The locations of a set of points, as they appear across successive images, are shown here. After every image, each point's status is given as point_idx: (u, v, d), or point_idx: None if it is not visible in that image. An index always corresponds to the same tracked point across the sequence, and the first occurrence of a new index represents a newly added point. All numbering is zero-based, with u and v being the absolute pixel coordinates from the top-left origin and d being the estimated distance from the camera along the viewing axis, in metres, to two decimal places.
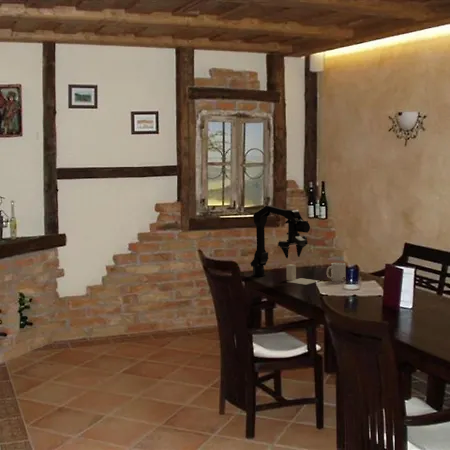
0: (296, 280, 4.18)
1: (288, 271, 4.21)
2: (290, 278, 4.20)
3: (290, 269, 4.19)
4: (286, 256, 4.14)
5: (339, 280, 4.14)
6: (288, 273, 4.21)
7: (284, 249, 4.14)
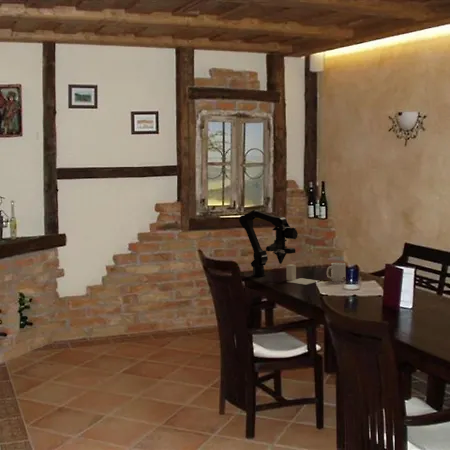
0: (296, 280, 4.18)
1: (288, 271, 4.21)
2: (290, 278, 4.20)
3: (290, 269, 4.19)
4: None
5: (339, 280, 4.14)
6: (288, 273, 4.21)
7: None
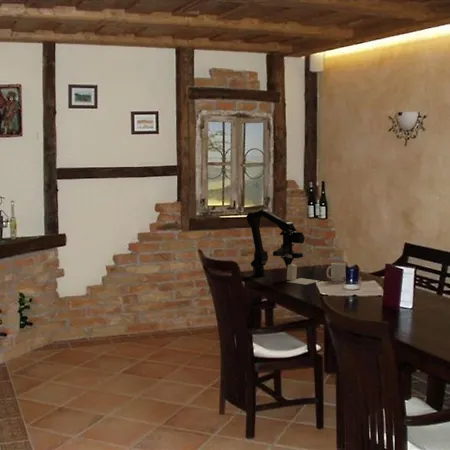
0: (296, 280, 4.18)
1: (289, 271, 4.20)
2: (290, 278, 4.20)
3: (291, 269, 4.19)
4: (287, 266, 4.23)
5: (339, 280, 4.14)
6: (289, 273, 4.20)
7: None
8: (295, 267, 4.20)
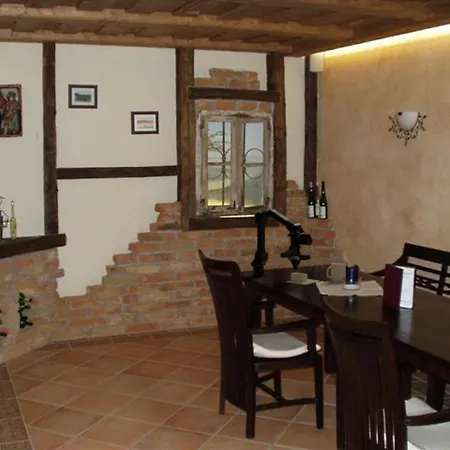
0: None
1: (298, 276, 4.16)
2: (292, 278, 4.19)
3: (300, 279, 4.15)
4: (294, 268, 4.20)
5: (339, 280, 4.14)
6: (296, 276, 4.17)
7: None
8: None
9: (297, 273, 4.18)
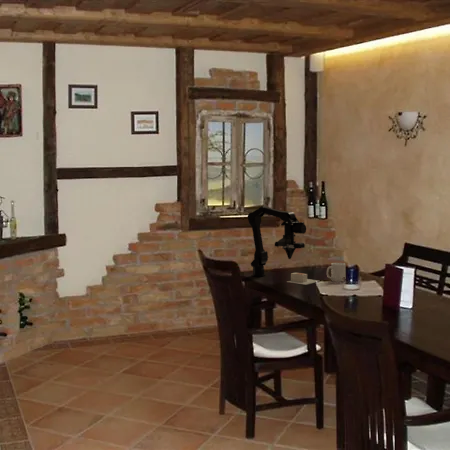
0: None
1: (298, 276, 4.16)
2: (292, 278, 4.19)
3: (300, 279, 4.15)
4: None
5: (339, 280, 4.14)
6: (296, 276, 4.17)
7: None
8: None
9: (297, 273, 4.18)
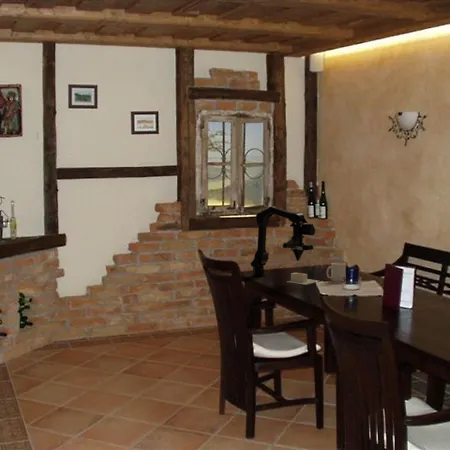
0: None
1: (298, 276, 4.16)
2: (292, 278, 4.19)
3: (300, 279, 4.15)
4: None
5: (339, 280, 4.14)
6: (296, 276, 4.17)
7: None
8: None
9: (297, 273, 4.18)
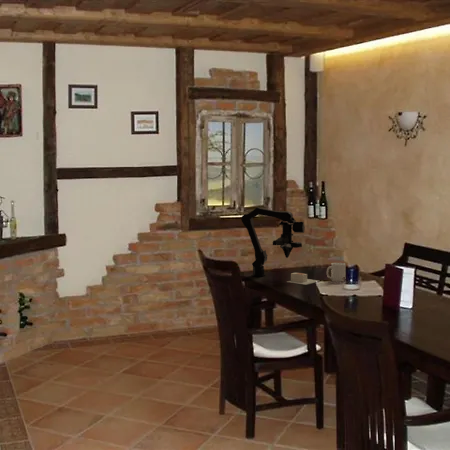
0: None
1: (298, 276, 4.16)
2: (292, 278, 4.19)
3: (300, 279, 4.15)
4: None
5: (339, 280, 4.14)
6: (296, 276, 4.17)
7: None
8: None
9: (297, 273, 4.18)
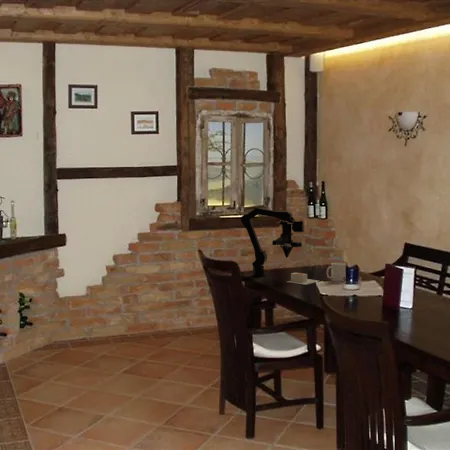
0: None
1: (298, 276, 4.16)
2: (292, 278, 4.19)
3: (300, 279, 4.15)
4: (285, 255, 4.31)
5: (339, 280, 4.14)
6: (296, 276, 4.17)
7: None
8: None
9: (297, 273, 4.18)
